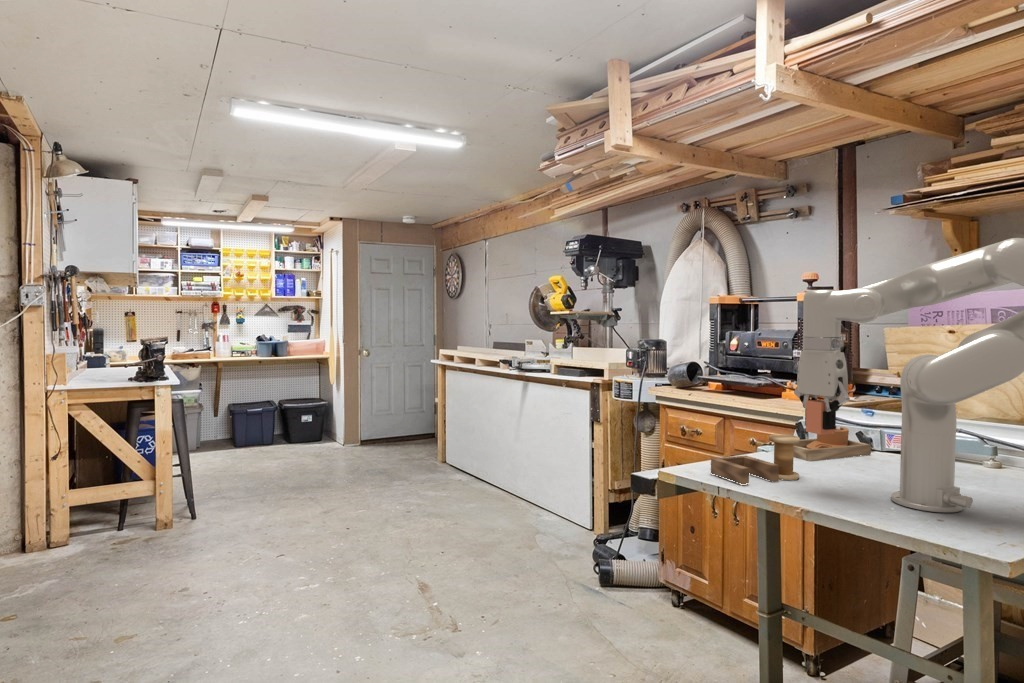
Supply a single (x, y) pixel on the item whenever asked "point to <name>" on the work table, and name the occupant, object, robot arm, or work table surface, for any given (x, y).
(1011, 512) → the work table surface
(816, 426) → the tab
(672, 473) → the work table surface
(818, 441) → the bracket
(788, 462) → the spool
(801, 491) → the work table surface
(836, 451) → the frame
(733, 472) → the notched board
